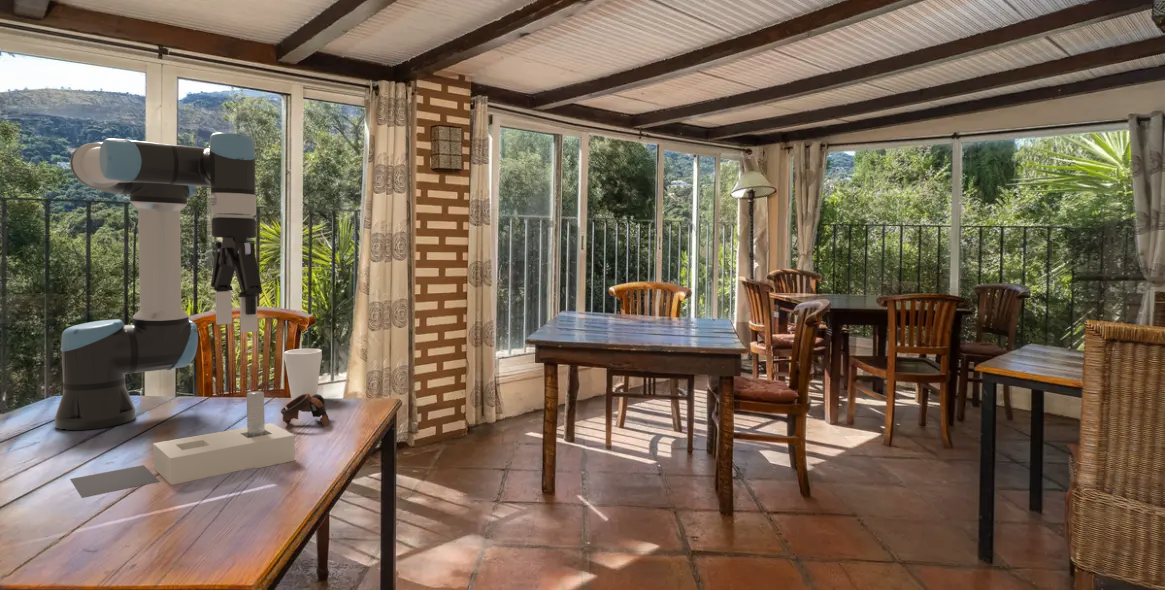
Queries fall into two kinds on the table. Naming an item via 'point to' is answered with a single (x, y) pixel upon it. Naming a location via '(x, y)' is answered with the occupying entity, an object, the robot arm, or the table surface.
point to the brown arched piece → (306, 408)
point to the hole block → (222, 453)
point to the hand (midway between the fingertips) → (236, 328)
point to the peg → (255, 414)
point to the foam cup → (303, 371)
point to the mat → (113, 481)
